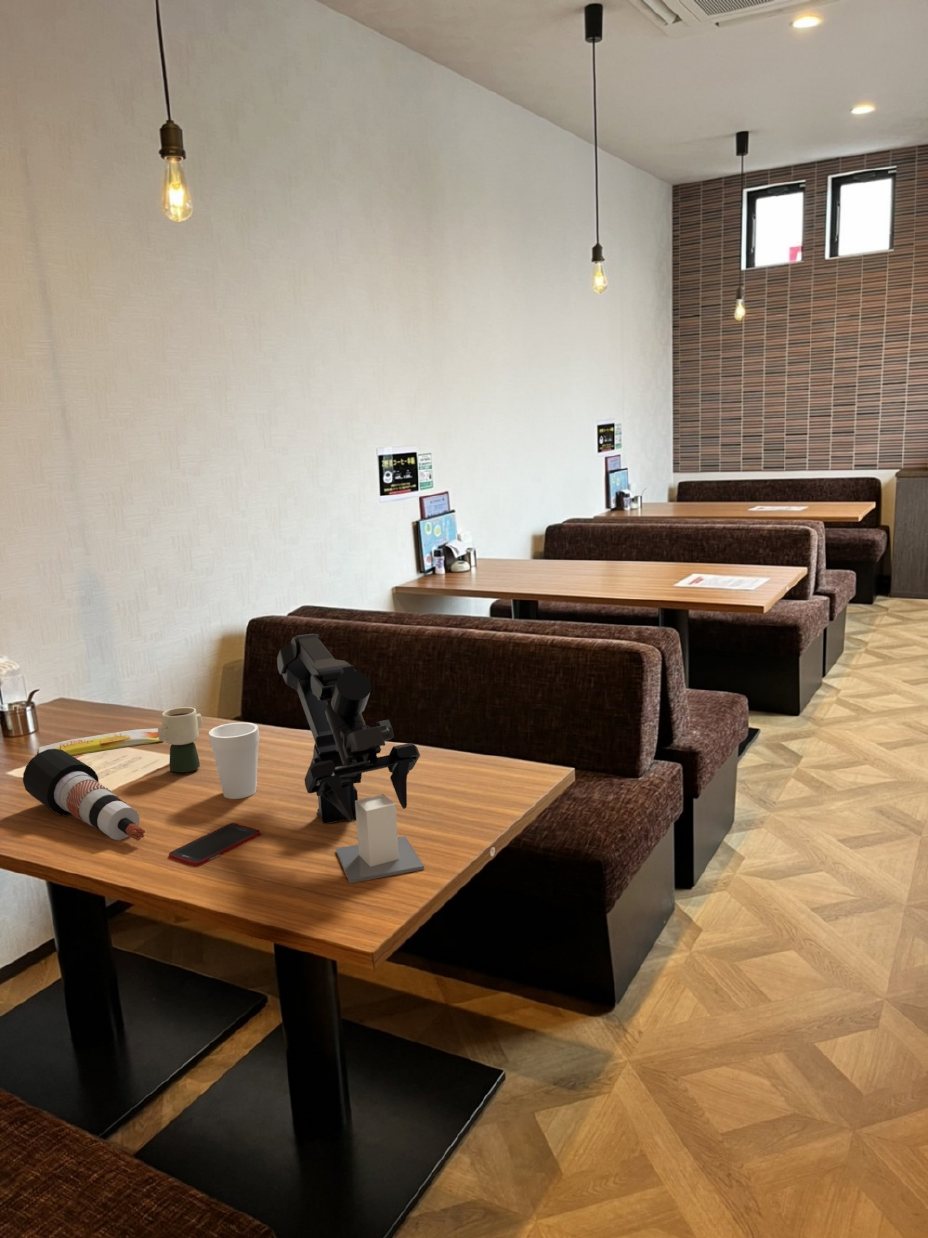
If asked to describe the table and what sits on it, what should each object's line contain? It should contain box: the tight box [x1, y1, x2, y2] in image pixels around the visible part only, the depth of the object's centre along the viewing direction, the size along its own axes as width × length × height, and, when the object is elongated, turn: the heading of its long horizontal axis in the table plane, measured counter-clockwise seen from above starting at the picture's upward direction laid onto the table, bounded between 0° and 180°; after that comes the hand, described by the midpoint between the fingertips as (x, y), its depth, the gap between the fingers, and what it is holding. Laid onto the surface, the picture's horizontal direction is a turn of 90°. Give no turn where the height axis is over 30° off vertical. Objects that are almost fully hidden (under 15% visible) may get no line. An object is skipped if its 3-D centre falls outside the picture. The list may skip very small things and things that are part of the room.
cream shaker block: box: [355, 793, 399, 867], centre depth 151 cm, size 5×5×10 cm
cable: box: [22, 749, 146, 842], centre depth 172 cm, size 10×34×10 cm, turn 45°
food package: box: [37, 727, 161, 757], centre depth 217 cm, size 27×2×10 cm
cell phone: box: [168, 822, 261, 867], centre depth 161 cm, size 8×15×1 cm, turn 146°
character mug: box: [157, 706, 203, 774], centre depth 197 cm, size 11×7×13 cm, turn 144°
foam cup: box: [208, 722, 260, 800], centre depth 183 cm, size 10×9×13 cm
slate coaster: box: [335, 835, 425, 884], centre depth 152 cm, size 12×12×1 cm
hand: (379, 814), depth 150 cm, fingers open, 9 cm apart
